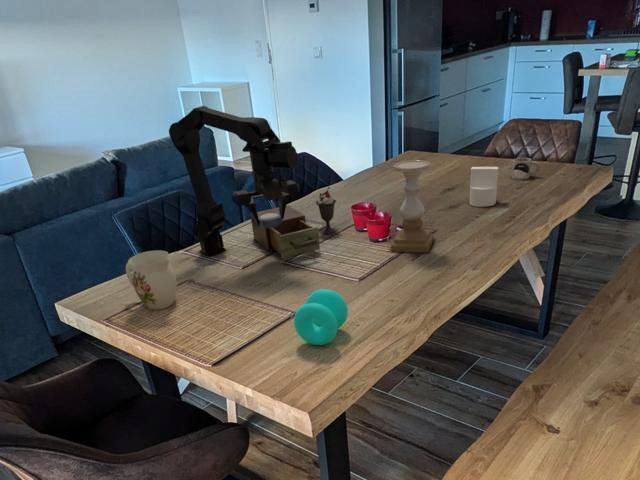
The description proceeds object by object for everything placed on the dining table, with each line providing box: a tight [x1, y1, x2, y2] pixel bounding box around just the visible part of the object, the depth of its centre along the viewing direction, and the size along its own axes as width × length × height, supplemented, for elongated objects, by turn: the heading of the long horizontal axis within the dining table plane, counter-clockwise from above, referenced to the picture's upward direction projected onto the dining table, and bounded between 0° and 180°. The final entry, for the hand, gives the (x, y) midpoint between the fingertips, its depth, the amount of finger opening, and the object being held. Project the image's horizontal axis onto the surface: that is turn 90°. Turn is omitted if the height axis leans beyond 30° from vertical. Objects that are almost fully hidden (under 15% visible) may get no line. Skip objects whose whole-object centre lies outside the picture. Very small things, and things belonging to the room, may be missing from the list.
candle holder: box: [390, 159, 434, 253], centre depth 164 cm, size 11×11×24 cm
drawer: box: [268, 219, 321, 259], centre depth 172 cm, size 18×12×7 cm
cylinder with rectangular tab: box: [468, 166, 499, 208], centre depth 195 cm, size 9×9×12 cm
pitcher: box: [125, 249, 178, 310], centre depth 148 cm, size 11×18×14 cm, turn 59°
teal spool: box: [293, 288, 349, 346], centre depth 125 cm, size 10×10×10 cm
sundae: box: [315, 186, 337, 235], centre depth 184 cm, size 7×7×15 cm
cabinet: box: [249, 204, 307, 252], centre depth 183 cm, size 14×14×9 cm
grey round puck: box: [258, 213, 282, 228], centre depth 166 cm, size 7×7×3 cm
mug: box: [511, 157, 541, 181], centre depth 219 cm, size 10×7×7 cm, turn 73°
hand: (270, 221), depth 166 cm, fingers closed on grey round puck, 7 cm apart
